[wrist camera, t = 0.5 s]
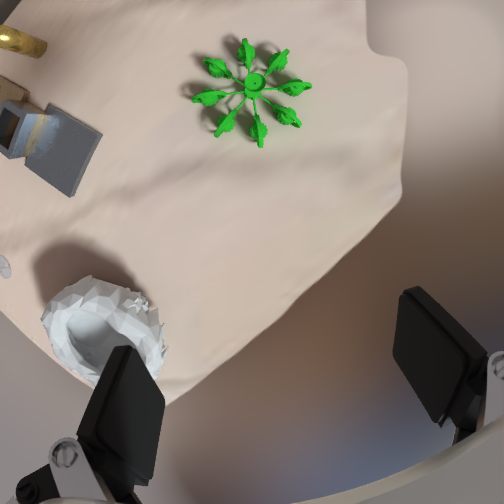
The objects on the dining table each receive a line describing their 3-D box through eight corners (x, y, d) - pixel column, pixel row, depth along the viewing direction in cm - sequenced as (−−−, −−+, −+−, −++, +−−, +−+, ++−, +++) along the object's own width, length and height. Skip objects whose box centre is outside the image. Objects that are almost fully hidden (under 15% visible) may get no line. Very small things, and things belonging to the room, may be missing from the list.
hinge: (1, 76, 25) (-20, 73, 19) (102, 135, 32) (82, 134, 27) (-20, 126, 28) (-40, 127, 22) (74, 195, 35) (52, 204, 29)
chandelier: (187, 53, 30) (178, 36, 23) (298, 41, 30) (311, 23, 23) (202, 156, 35) (195, 158, 29) (314, 142, 35) (331, 141, 29)
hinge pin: (40, 39, 24) (-3, 23, 13) (50, 43, 25) (6, 25, 14) (30, 56, 25) (-14, 43, 14) (39, 60, 26) (-6, 46, 15)
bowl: (90, 233, 37) (56, 259, 28) (197, 309, 43) (189, 351, 33) (54, 318, 42) (29, 349, 33) (140, 376, 48) (129, 415, 38)
